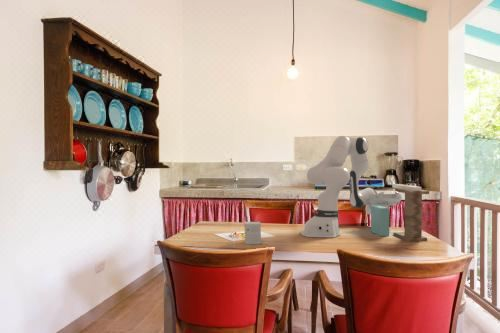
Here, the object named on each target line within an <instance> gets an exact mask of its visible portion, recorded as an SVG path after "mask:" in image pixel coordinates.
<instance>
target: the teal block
mask: <svg viewBox="0 0 500 333" xmlns="http://www.w3.org/2000/svg"><path fill="white" fill-rule="evenodd" d="M370 232H372V233H375V235H378V236H380V237H382V236H383V237H385V236H390V207H383V206H380V205H371V215H370Z"/></svg>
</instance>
